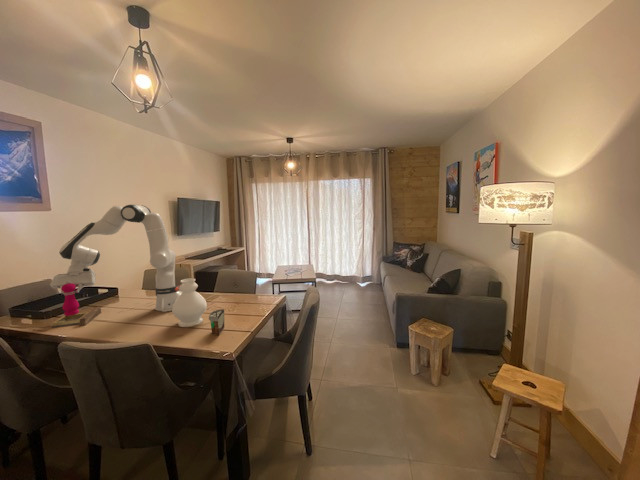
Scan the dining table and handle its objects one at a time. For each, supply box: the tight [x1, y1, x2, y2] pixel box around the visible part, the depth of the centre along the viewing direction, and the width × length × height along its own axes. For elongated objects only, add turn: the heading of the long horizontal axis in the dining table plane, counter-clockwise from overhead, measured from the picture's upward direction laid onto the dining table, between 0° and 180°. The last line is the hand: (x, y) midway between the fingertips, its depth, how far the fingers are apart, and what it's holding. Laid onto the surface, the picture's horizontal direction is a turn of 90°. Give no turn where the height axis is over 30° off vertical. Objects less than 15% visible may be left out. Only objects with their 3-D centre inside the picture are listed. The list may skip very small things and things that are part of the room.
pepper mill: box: [62, 281, 80, 316], centre depth 152 cm, size 7×7×20 cm
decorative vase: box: [171, 277, 208, 328], centre depth 148 cm, size 18×18×25 cm
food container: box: [208, 308, 225, 336], centre depth 137 cm, size 12×6×10 cm, turn 5°
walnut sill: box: [79, 306, 102, 327], centre depth 157 cm, size 2×20×4 cm, turn 20°
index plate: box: [51, 311, 90, 328], centre depth 154 cm, size 13×13×2 cm
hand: (69, 292), depth 152 cm, fingers closed on pepper mill, 5 cm apart
